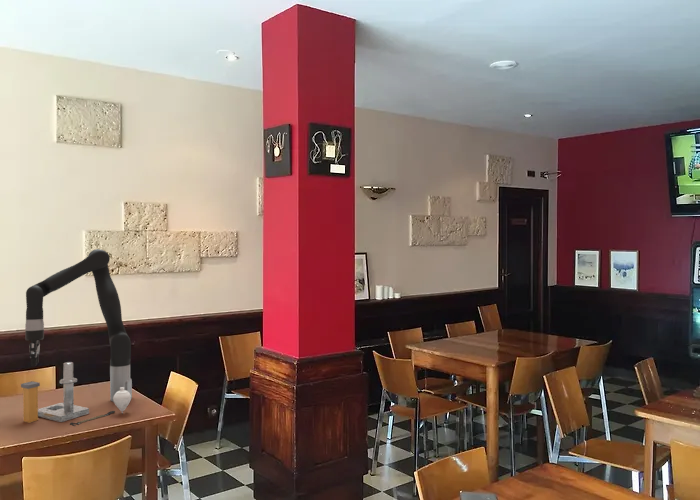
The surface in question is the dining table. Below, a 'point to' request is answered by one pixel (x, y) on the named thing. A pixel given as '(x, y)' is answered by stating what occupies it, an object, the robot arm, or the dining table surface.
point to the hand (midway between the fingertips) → (34, 364)
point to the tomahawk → (92, 418)
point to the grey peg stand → (67, 408)
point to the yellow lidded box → (30, 401)
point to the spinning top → (122, 399)
